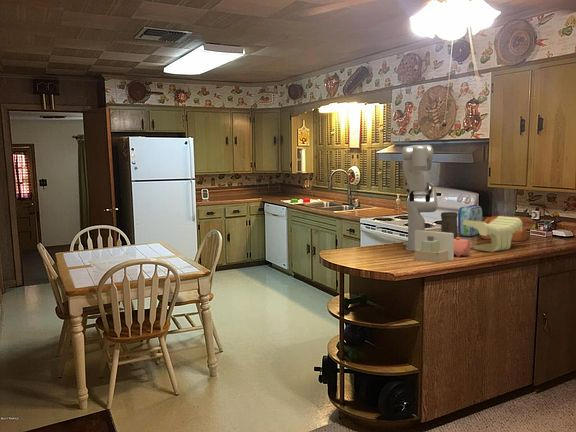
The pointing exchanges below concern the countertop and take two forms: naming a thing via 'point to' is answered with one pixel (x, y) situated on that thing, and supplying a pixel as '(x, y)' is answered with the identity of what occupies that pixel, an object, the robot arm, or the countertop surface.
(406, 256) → the countertop surface
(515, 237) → the bread
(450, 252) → the beige slab with panel
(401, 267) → the countertop surface
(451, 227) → the beer stein
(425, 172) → the robot arm
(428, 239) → the cabinet box
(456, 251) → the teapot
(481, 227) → the slatted curved stool
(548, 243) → the countertop surface
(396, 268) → the countertop surface
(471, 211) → the lunch box
